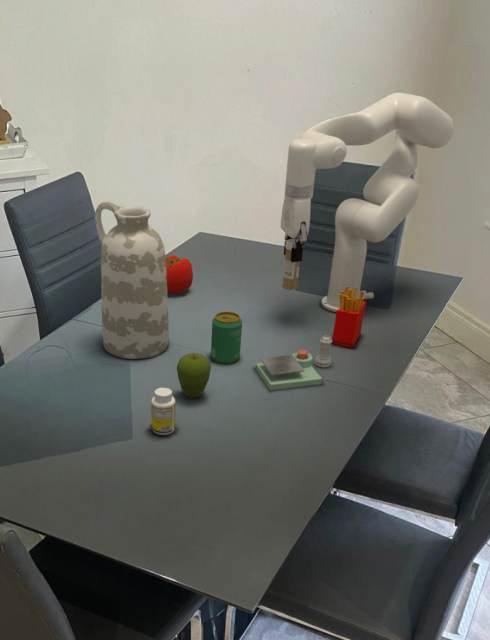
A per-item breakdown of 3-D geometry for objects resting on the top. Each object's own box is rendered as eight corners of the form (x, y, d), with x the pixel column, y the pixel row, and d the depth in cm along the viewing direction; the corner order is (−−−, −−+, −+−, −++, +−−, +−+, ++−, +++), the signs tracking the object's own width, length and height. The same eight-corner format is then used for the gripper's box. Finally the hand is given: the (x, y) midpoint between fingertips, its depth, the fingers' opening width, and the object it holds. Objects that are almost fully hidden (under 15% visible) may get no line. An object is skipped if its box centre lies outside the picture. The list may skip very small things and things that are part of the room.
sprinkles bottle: (300, 288, 214) (305, 241, 206) (288, 291, 212) (293, 244, 204) (290, 283, 217) (294, 237, 209) (278, 286, 215) (282, 240, 207)
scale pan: (291, 356, 197) (292, 354, 196) (304, 371, 190) (304, 370, 190) (259, 359, 195) (260, 358, 195) (271, 375, 188) (271, 374, 188)
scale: (306, 362, 201) (308, 351, 199) (324, 384, 192) (326, 372, 190) (254, 368, 199) (255, 356, 196) (270, 390, 189) (271, 378, 187)
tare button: (304, 355, 198) (305, 349, 197) (308, 359, 196) (309, 353, 195) (295, 356, 197) (296, 350, 196) (299, 360, 195) (300, 354, 194)
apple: (198, 407, 183) (200, 365, 175) (169, 398, 186) (170, 356, 179) (215, 392, 188) (217, 351, 181) (187, 384, 192) (188, 343, 185)
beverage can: (223, 348, 208) (226, 308, 200) (245, 358, 203) (248, 316, 196) (204, 358, 203) (206, 316, 196) (226, 367, 199) (228, 326, 191)
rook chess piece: (332, 362, 201) (336, 334, 196) (329, 369, 198) (333, 342, 193) (315, 359, 202) (319, 332, 198) (312, 367, 199) (316, 339, 194)
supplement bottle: (161, 421, 178) (161, 383, 171) (179, 428, 175) (180, 390, 169) (146, 430, 174) (146, 392, 168) (164, 438, 172) (164, 400, 165)
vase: (179, 337, 213) (180, 199, 189) (151, 365, 200) (149, 220, 176) (116, 325, 220) (111, 190, 196) (86, 351, 207) (76, 210, 183)
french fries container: (329, 344, 210) (336, 296, 201) (337, 331, 217) (344, 285, 208) (353, 348, 208) (362, 300, 199) (361, 335, 214) (369, 289, 206)
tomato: (199, 288, 242) (200, 256, 236) (178, 301, 234) (179, 269, 227) (164, 279, 248) (164, 248, 242) (143, 292, 239) (142, 260, 233)
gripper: (275, 183, 204) (269, 249, 215) (297, 201, 191) (290, 270, 202) (300, 181, 205) (294, 246, 216) (324, 198, 192) (316, 267, 204)
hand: (292, 257), depth 209 cm, fingers closed on sprinkles bottle, 4 cm apart
